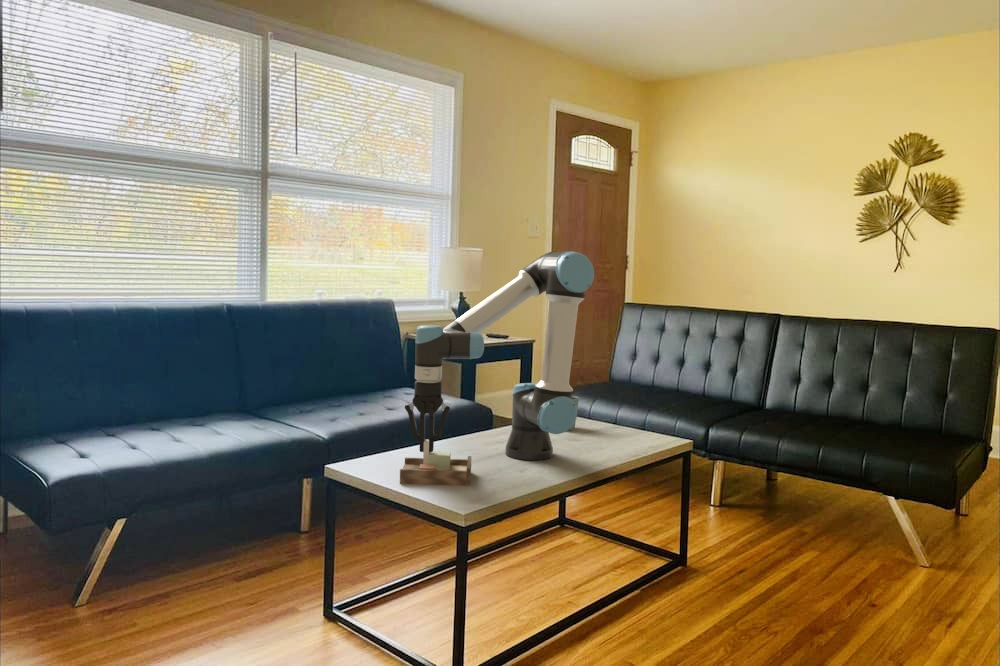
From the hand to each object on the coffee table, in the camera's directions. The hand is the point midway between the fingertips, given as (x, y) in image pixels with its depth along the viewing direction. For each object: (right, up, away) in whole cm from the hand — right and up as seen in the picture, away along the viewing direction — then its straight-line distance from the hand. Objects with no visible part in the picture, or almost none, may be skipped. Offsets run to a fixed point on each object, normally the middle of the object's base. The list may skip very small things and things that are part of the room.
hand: (426, 463), depth 218 cm
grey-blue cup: (+44, +1, +68) cm, 81 cm away
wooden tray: (+3, -4, -2) cm, 6 cm away
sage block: (+4, -1, 0) cm, 4 cm away
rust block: (+1, -4, -5) cm, 7 cm away
